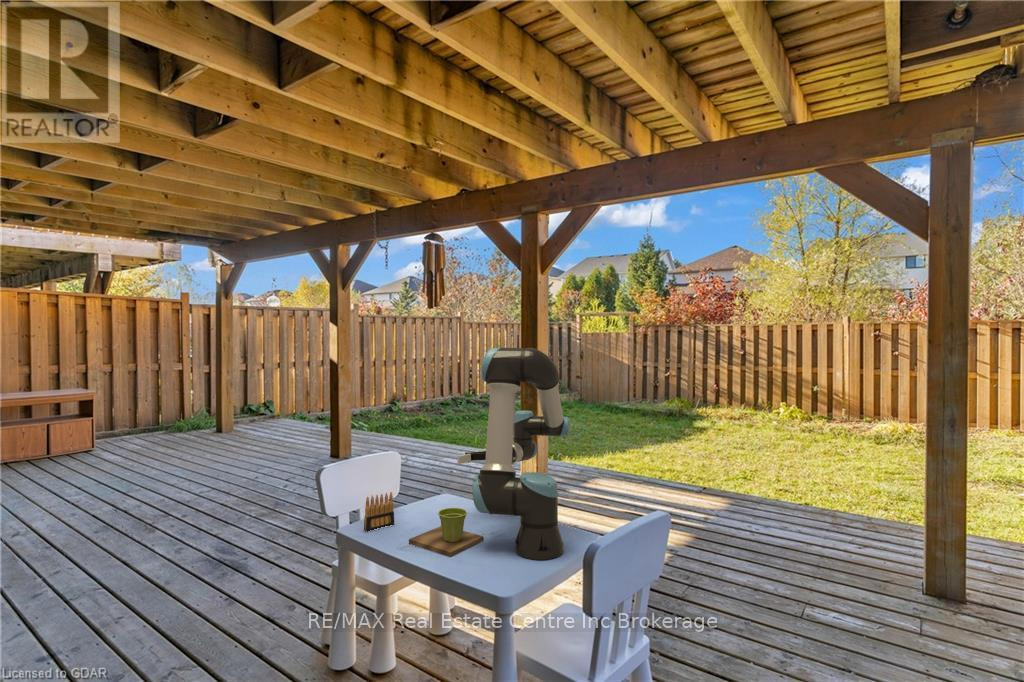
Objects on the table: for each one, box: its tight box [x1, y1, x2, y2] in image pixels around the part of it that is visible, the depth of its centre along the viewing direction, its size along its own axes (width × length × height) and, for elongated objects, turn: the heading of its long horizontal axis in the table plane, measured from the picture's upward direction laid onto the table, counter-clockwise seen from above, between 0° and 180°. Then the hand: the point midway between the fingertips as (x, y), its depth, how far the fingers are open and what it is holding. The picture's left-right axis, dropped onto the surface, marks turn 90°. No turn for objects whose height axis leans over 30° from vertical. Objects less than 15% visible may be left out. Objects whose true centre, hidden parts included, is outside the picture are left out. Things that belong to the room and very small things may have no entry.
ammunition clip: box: [363, 491, 395, 532], centre depth 182 cm, size 11×2×12 cm, turn 130°
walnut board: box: [408, 525, 485, 558], centre depth 169 cm, size 18×16×2 cm
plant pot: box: [437, 507, 468, 542], centre depth 168 cm, size 9×9×9 cm
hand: (472, 462), depth 181 cm, fingers open, 13 cm apart
